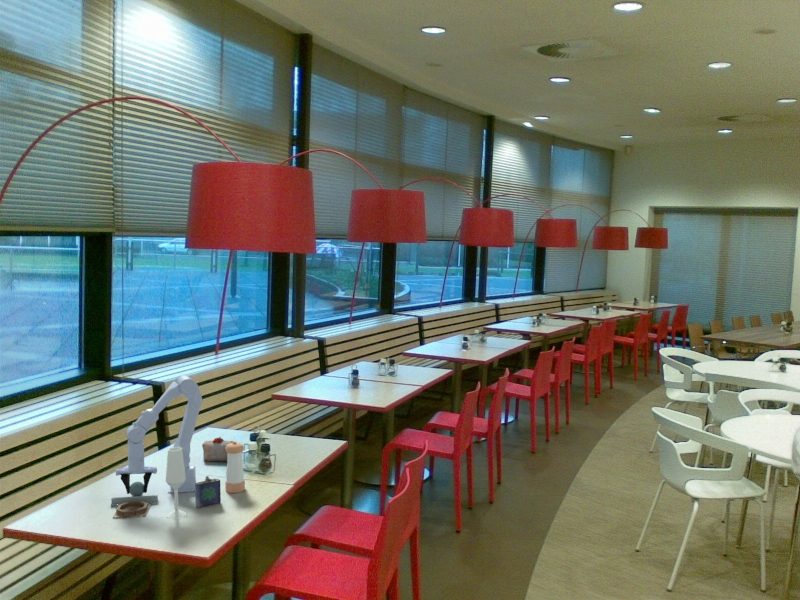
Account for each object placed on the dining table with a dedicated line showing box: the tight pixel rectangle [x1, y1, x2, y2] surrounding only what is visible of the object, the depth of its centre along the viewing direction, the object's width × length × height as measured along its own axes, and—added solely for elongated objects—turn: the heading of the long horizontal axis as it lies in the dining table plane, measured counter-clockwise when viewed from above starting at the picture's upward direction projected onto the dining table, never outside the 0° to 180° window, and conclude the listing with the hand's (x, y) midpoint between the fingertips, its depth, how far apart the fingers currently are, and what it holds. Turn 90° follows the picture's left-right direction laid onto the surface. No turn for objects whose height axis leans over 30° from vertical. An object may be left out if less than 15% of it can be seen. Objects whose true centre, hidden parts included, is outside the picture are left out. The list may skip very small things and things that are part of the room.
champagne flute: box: [165, 446, 187, 520], centre depth 249 cm, size 7×7×24 cm
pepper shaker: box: [225, 440, 246, 494], centre depth 274 cm, size 7×7×19 cm
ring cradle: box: [112, 501, 152, 519], centre depth 253 cm, size 11×11×2 cm
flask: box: [194, 475, 222, 509], centre depth 259 cm, size 9×3×11 cm, turn 121°
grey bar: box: [110, 494, 159, 507], centre depth 260 cm, size 16×3×2 cm, turn 100°
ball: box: [129, 481, 145, 497], centre depth 267 cm, size 6×6×6 cm
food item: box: [201, 436, 234, 463], centre depth 310 cm, size 14×8×10 cm, turn 86°
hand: (137, 492), depth 268 cm, fingers closed on ball, 5 cm apart
